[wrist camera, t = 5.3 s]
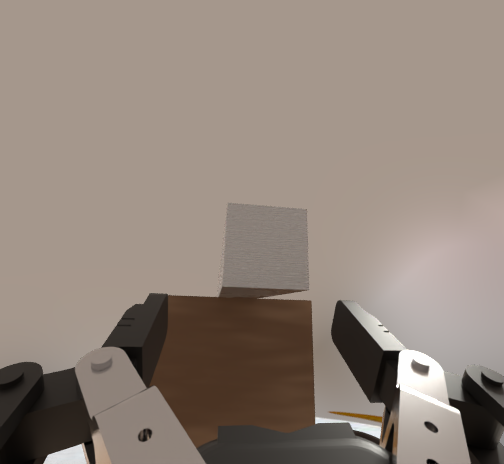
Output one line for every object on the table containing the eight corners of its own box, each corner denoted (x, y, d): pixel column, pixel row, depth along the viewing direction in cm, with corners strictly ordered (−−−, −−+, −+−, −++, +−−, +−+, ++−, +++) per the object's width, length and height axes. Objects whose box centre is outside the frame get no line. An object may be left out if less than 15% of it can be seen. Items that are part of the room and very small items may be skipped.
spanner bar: (217, 300, 38) (219, 258, 39) (238, 301, 38) (240, 260, 40) (222, 286, 9) (231, 136, 11) (308, 290, 10) (305, 145, 11)
